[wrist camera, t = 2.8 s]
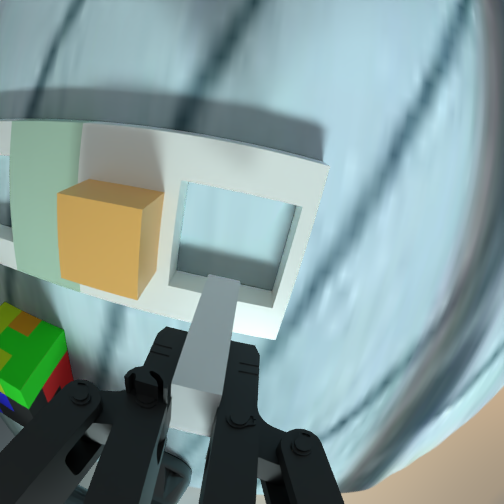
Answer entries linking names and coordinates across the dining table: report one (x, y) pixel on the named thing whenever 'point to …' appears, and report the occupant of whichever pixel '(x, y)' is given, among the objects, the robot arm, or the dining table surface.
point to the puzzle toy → (30, 363)
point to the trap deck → (175, 187)
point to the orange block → (109, 236)
